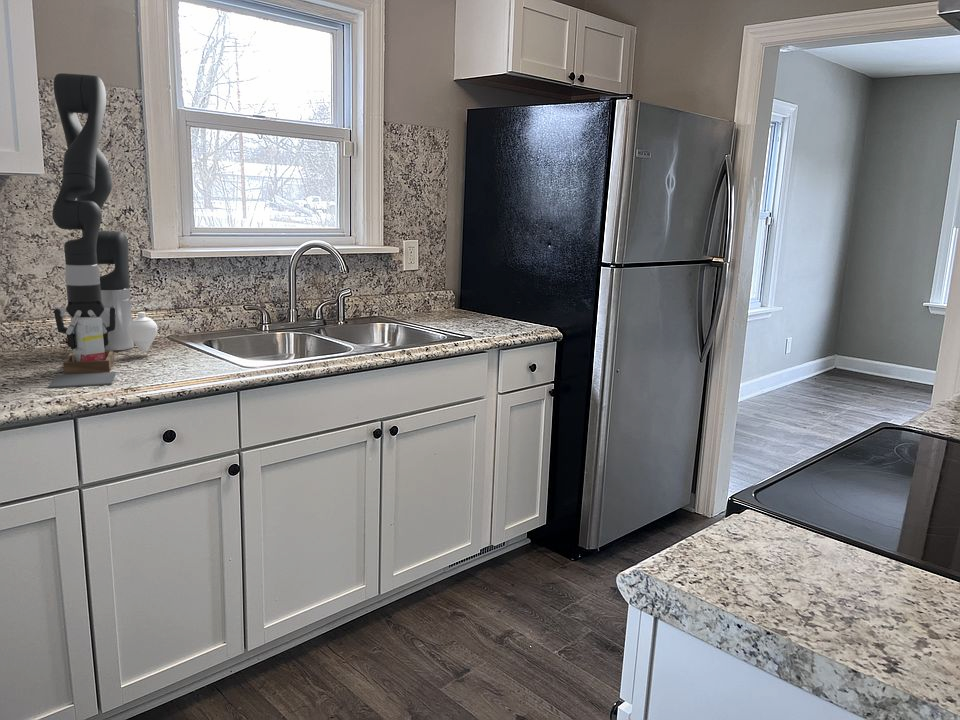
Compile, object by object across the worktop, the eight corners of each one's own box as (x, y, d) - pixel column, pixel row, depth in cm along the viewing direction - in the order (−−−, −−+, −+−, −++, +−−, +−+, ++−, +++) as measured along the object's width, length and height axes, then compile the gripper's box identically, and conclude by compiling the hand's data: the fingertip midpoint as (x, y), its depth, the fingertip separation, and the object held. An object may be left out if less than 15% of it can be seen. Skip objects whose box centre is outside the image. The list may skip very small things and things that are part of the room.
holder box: (71, 363, 196) (70, 352, 195) (114, 361, 199) (113, 350, 199) (64, 374, 184) (63, 362, 183) (109, 372, 187) (108, 360, 187)
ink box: (106, 363, 190) (102, 317, 188) (86, 366, 187) (81, 319, 184) (93, 357, 196) (89, 312, 194) (73, 360, 193) (69, 314, 190)
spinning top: (142, 351, 213) (139, 309, 211) (165, 353, 211) (162, 311, 209) (122, 356, 206) (119, 313, 203) (146, 358, 204) (143, 314, 201)
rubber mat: (56, 376, 182) (56, 374, 182) (115, 373, 187) (115, 371, 186) (48, 388, 171) (47, 386, 171) (111, 384, 176) (111, 383, 176)
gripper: (116, 280, 193) (121, 344, 197) (52, 281, 188) (58, 346, 192) (113, 283, 186) (118, 349, 190) (47, 284, 181) (54, 352, 185)
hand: (88, 347), depth 191 cm, fingers closed on ink box, 6 cm apart
